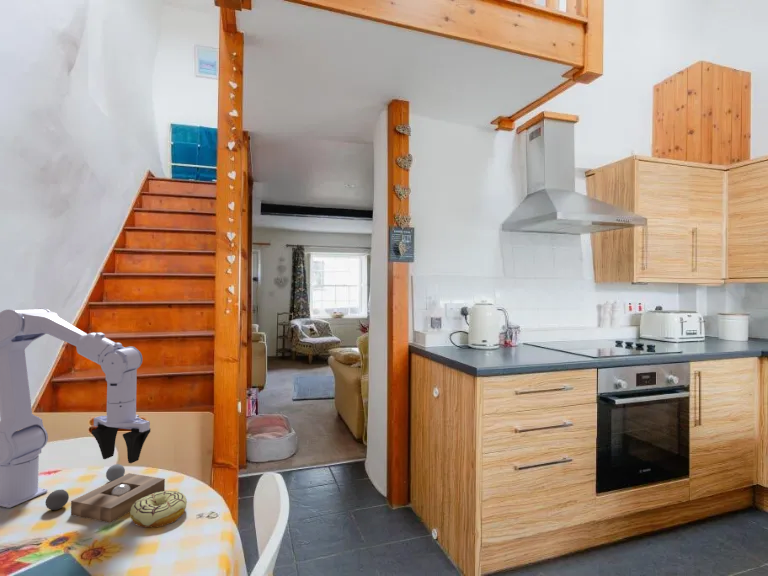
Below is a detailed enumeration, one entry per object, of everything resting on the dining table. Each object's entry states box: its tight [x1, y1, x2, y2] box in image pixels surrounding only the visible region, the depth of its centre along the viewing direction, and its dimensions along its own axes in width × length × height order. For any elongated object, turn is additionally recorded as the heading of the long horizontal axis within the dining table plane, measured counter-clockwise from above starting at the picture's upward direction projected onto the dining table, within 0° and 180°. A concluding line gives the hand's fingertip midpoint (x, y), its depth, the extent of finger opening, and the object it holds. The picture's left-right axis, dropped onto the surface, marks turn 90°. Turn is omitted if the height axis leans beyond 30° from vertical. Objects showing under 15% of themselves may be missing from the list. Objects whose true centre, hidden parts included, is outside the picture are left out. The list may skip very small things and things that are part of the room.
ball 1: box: [44, 489, 70, 511], centre depth 88 cm, size 4×4×4 cm
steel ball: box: [111, 484, 131, 497], centre depth 91 cm, size 4×4×4 cm
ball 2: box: [105, 463, 126, 482], centre depth 102 cm, size 4×4×4 cm
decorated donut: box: [129, 490, 188, 529], centre depth 86 cm, size 10×11×4 cm
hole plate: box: [70, 472, 166, 524], centre depth 91 cm, size 11×14×3 cm
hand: (120, 459), depth 92 cm, fingers open, 7 cm apart
